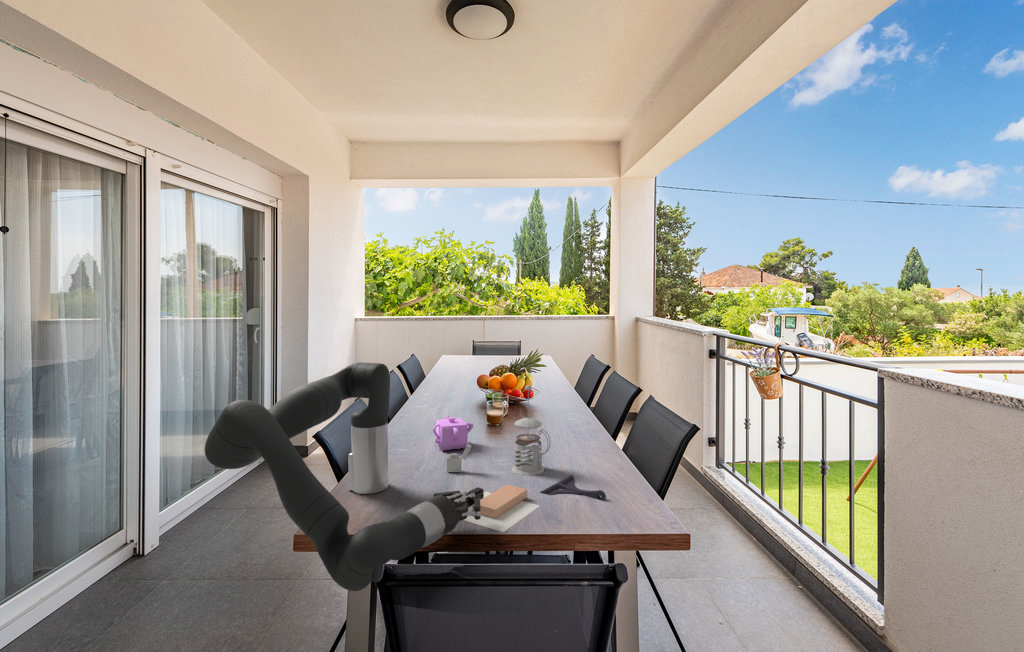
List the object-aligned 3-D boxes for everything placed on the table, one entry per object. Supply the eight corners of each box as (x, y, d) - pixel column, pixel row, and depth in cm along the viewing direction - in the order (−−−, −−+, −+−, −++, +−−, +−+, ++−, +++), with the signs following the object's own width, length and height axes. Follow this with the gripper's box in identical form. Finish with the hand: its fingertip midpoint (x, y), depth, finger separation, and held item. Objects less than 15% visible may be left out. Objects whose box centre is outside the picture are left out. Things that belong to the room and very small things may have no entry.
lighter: (446, 472, 142) (446, 445, 142) (447, 470, 144) (447, 443, 144) (471, 472, 142) (471, 445, 142) (471, 470, 144) (471, 443, 144)
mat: (445, 516, 113) (445, 514, 113) (485, 493, 127) (485, 491, 127) (503, 535, 105) (503, 532, 105) (540, 508, 118) (540, 505, 118)
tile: (473, 503, 114) (506, 484, 126) (473, 512, 114) (506, 492, 126) (495, 509, 111) (527, 489, 123) (495, 519, 111) (527, 498, 123)
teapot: (428, 441, 174) (428, 412, 174) (466, 437, 179) (466, 409, 178) (437, 456, 157) (437, 425, 157) (479, 452, 161) (479, 421, 161)
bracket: (590, 512, 118) (590, 501, 117) (539, 496, 127) (539, 486, 127) (617, 494, 129) (617, 483, 129) (569, 481, 138) (569, 471, 138)
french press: (520, 462, 152) (520, 381, 150) (555, 467, 147) (556, 384, 145) (505, 472, 143) (505, 386, 141) (542, 478, 138) (543, 390, 136)
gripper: (403, 531, 100) (457, 501, 115) (454, 550, 93) (505, 515, 108) (403, 495, 100) (457, 469, 114) (455, 511, 92) (505, 482, 107)
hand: (480, 492), depth 111 cm, fingers closed
